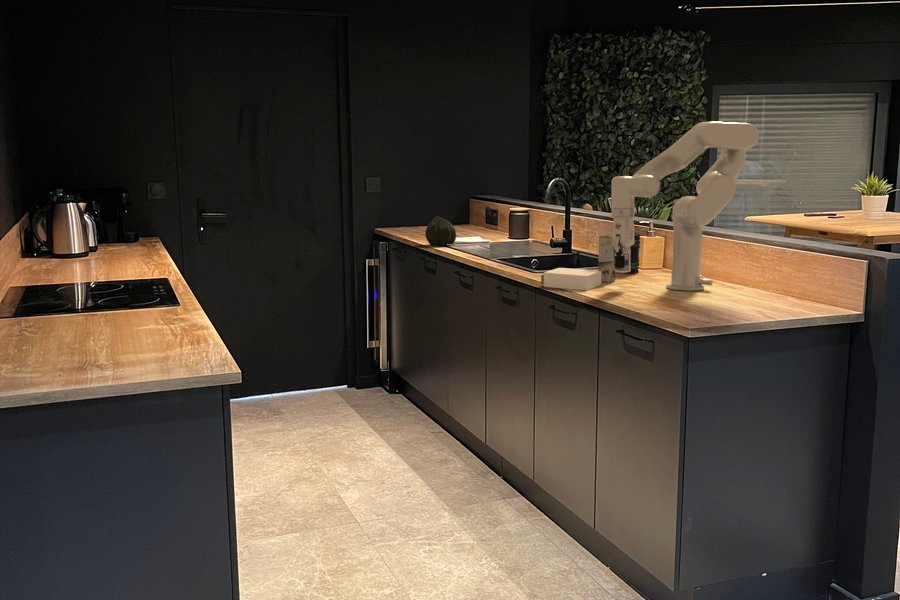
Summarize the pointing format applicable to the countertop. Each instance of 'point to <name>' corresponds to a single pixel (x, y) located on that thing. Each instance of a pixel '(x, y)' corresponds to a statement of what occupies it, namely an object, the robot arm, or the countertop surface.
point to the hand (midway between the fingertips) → (622, 265)
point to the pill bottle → (627, 261)
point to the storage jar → (634, 255)
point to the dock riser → (571, 278)
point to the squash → (440, 232)
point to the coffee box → (606, 258)
